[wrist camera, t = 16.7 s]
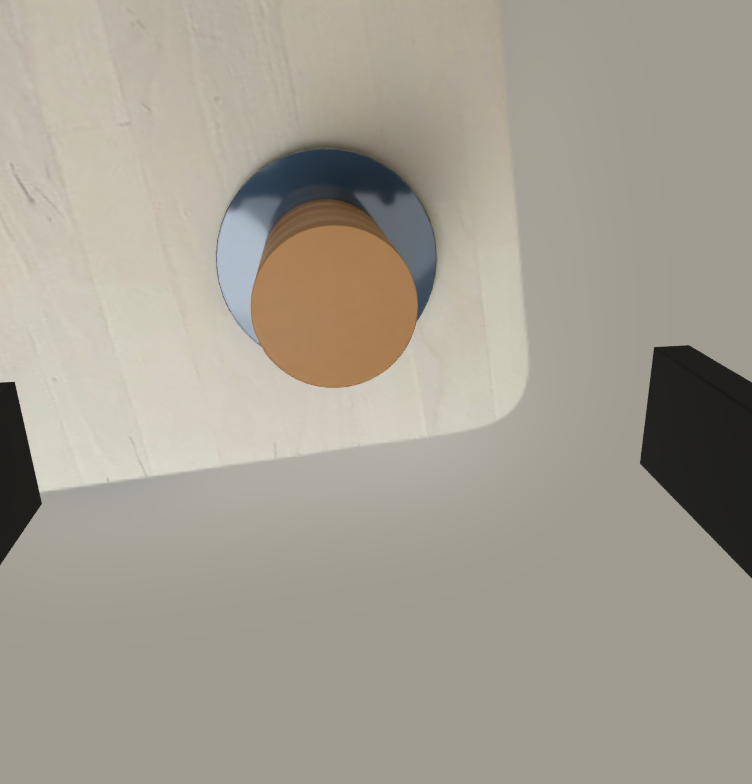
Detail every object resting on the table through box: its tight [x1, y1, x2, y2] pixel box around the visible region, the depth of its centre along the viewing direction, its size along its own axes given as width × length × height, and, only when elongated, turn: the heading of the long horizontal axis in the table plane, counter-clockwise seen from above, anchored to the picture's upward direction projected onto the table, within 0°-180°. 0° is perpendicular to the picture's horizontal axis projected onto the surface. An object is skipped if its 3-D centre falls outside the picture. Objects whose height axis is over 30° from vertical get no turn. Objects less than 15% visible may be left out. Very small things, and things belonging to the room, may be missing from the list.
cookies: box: [251, 199, 418, 388], centre depth 34 cm, size 7×7×10 cm
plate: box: [216, 148, 436, 346], centre depth 39 cm, size 12×12×1 cm
